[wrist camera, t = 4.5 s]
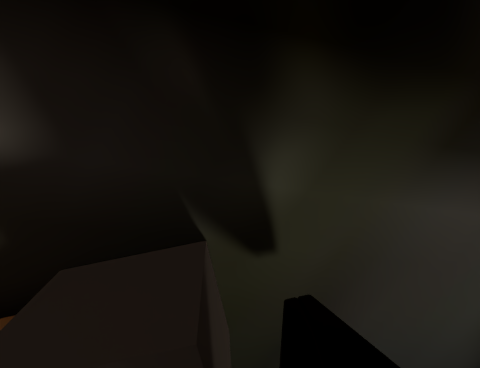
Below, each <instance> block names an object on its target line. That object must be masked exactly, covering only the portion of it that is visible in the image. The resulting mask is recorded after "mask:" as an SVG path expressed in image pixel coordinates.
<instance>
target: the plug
mask: <svg viewBox="0 0 480 368" xmlns="http://www.w3.org/2000/svg"><path fill="white" fill-rule="evenodd" d="M0 368H231V357H230V337H229V329H228V325H227V321H226V317H225V313H224V309H223V305H222V301H221V297H220V293H219V289H218V285H217V281H216V277H215V273H214V270H213V266H212V262H211V258H210V254H209V250H208V246H207V242H206V241H201V242H196V243H191V244H186V245H182V246H177V247H172V248H167V249H162V250H157V251H152V252H147V253H142V254H137V255H132V256H128V257H123V258H118V259H113V260H108V261H103V262H98V263H93V264H88V265H83V266H78V267H73V268H69V269H64V270H60V271H59V272H58V273H57V274H56V275H55V276H54V277H53V278H52V279H51V280H50V281H49V282H48V283H47V284H46V285H45V286H44V287H43V288H42V289H41V290H40V291H39V292H38V293H37V294H36V295H35V296H34V297H33V298H32V299H31V300H30V301H29V302H28V303H27V304H26V305H25V306H24V307H23V308H22V309H21V310H20V311H19V312H18V313H17V314H16V315H15V316H10V317H5V318H0Z"/></svg>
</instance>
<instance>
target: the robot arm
mask: <svg viewBox="0 0 480 368" xmlns="http://www.w3.org/2000/svg"><path fill="white" fill-rule="evenodd" d="M279 368H400V367H399V366H398V365H396V364H395V363H394V362H393V361H392V360H390V359H389V358H388V357H387V356H385V355H384V354H383V353H382V352H380V351H379V350H378V349H377V348H375V347H374V346H373V345H372V344H371V343H369V342H368V341H367V340H366V339H364V338H363V337H362V336H361V335H359V334H358V333H357V332H356V331H355V330H353V329H352V328H351V327H350V326H348V325H347V324H346V323H345V322H343V321H342V320H341V319H340V318H339V317H337V316H336V315H335V314H334V313H332V312H331V311H330V310H329V309H327V308H326V307H325V306H324V305H323V304H321V303H320V302H319V301H318V300H316V299H315V298H314V297H313V296H311V295H304V296H299V297H298V299H297V298H296V297H294V298H290V299H285V301H284V310H283V324H282V338H281V353H280V367H279Z"/></svg>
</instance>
